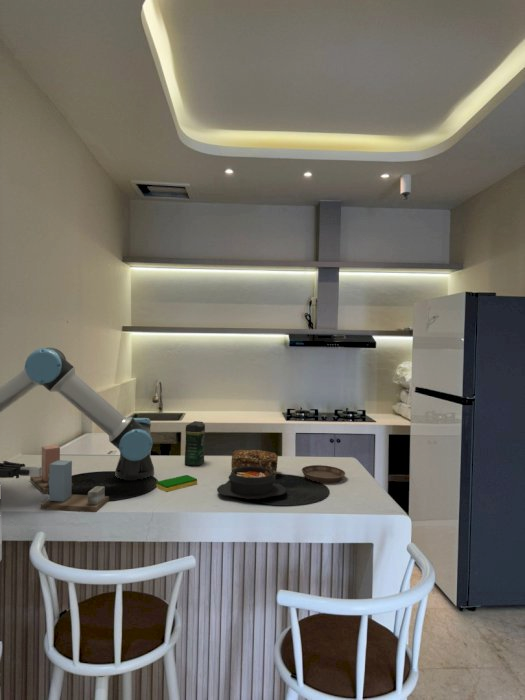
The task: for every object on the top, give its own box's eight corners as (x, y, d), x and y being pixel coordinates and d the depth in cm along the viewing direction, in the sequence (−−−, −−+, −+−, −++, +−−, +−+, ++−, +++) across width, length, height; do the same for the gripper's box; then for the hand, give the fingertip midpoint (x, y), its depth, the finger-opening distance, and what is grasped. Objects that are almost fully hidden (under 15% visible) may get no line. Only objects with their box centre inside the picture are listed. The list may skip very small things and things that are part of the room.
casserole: (282, 486, 175) (283, 464, 175) (289, 503, 157) (290, 479, 157) (217, 486, 173) (217, 464, 173) (216, 504, 155) (217, 479, 154)
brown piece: (30, 480, 175) (30, 466, 175) (57, 475, 181) (57, 462, 181) (44, 493, 161) (44, 478, 161) (73, 488, 167) (73, 473, 167)
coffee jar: (199, 467, 198) (200, 424, 197) (182, 465, 199) (183, 423, 198) (206, 461, 207) (207, 420, 207) (189, 460, 209) (190, 419, 208)
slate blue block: (49, 500, 149) (49, 464, 149) (57, 495, 154) (57, 460, 154) (63, 501, 149) (64, 465, 149) (71, 496, 154) (71, 460, 154)
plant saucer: (341, 472, 196) (341, 465, 196) (348, 486, 178) (348, 478, 178) (300, 471, 196) (300, 464, 196) (302, 484, 178) (303, 476, 178)
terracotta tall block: (41, 478, 172) (41, 446, 172) (55, 475, 175) (55, 444, 175) (45, 481, 168) (45, 449, 168) (59, 479, 172) (59, 447, 171)
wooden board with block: (40, 508, 147) (40, 491, 147) (56, 497, 157) (56, 482, 157) (96, 511, 146) (96, 494, 146) (109, 500, 156) (109, 484, 155)
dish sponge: (155, 487, 171) (156, 481, 171) (186, 480, 181) (187, 474, 180) (166, 492, 166) (166, 486, 166) (197, 485, 175) (197, 478, 175)
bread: (230, 477, 185) (231, 452, 185) (234, 469, 195) (234, 446, 195) (276, 479, 183) (277, 454, 183) (277, 471, 194) (278, 448, 194)
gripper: (-15, 473, 160) (50, 477, 158) (-42, 485, 147) (28, 489, 145) (-14, 452, 160) (51, 455, 158) (-42, 462, 147) (29, 466, 145)
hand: (40, 472), depth 152 cm, fingers closed
